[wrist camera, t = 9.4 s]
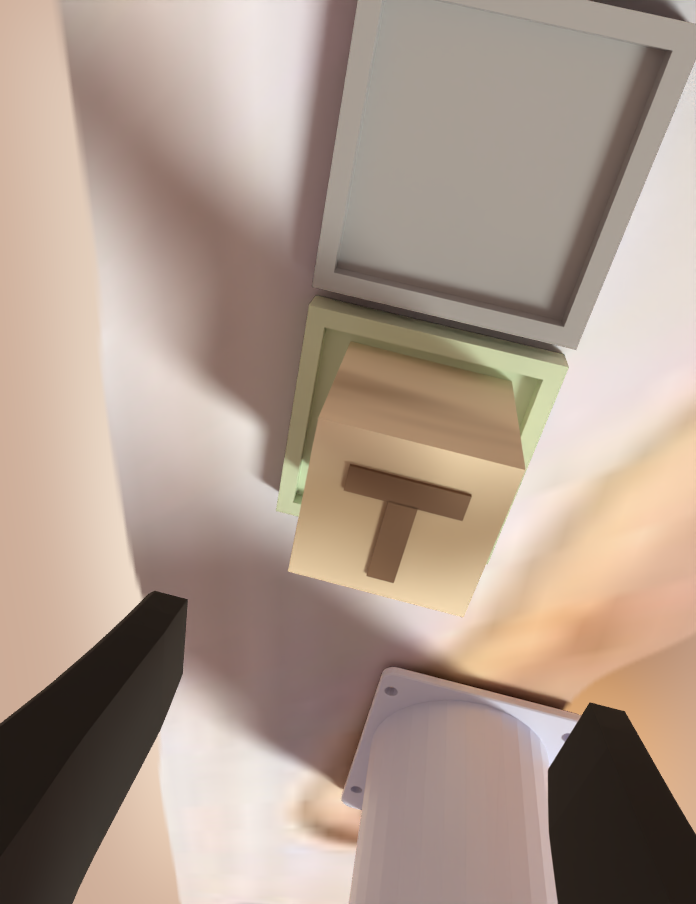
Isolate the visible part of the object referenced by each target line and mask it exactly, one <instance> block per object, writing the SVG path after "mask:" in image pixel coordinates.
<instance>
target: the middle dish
mask: <svg viewBox="0 0 696 904" xmlns="http://www.w3.org/2000/svg"><path fill="white" fill-rule="evenodd" d="M695 60H696V24H694V23H690V22H685V21H681V20H676V19H671V18H667V17H662V16H658V15H653V14H648V13H644V12H639V11H635V10H630V9H626V8H621V7H616V6H612V5H607V4H603V3H598V2H593V1H589V0H358V2H357V8H356V14H355V21H354V27H353V33H352V39H351V46H350V52H349V58H348V64H347V71H346V77H345V83H344V89H343V96H342V102H341V108H340V114H339V121H338V127H337V133H336V139H335V145H334V152H333V158H332V164H331V170H330V177H329V183H328V189H327V195H326V202H325V208H324V214H323V220H322V227H321V233H320V239H319V245H318V252H317V258H316V264H315V270H314V277H313V283H312V287H314V288H318V289H322V290H327V291H331V292H335V293H339V294H343V295H348V296H352V297H356V298H360V299H364V300H369V301H373V302H377V303H381V304H386V305H390V306H394V307H398V308H402V309H407V310H411V311H415V312H419V313H423V314H428V315H432V316H436V317H440V318H444V319H449V320H453V321H457V322H461V323H465V324H470V325H474V326H478V327H482V328H486V329H491V330H495V331H499V332H503V333H507V334H512V335H516V336H520V337H524V338H528V339H533V340H537V341H541V342H545V343H549V344H554V345H558V346H562V347H566V348H570V349H575V350H576V349H577V346H578V344H579V341H580V339H581V337H582V334H583V332H584V329H585V327H586V324H587V322H588V320H589V317H590V315H591V312H592V310H593V307H594V305H595V303H596V300H597V298H598V295H599V293H600V290H601V288H602V286H603V283H604V281H605V278H606V276H607V273H608V271H609V269H610V266H611V264H612V261H613V259H614V257H615V254H616V252H617V249H618V247H619V244H620V242H621V240H622V237H623V235H624V232H625V230H626V227H627V225H628V223H629V220H630V218H631V215H632V213H633V210H634V208H635V206H636V203H637V201H638V198H639V196H640V193H641V191H642V189H643V186H644V184H645V181H646V179H647V176H648V174H649V172H650V169H651V167H652V164H653V162H654V159H655V157H656V155H657V152H658V150H659V147H660V145H661V143H662V140H663V138H664V135H665V133H666V130H667V128H668V126H669V123H670V121H671V118H672V116H673V113H674V111H675V109H676V106H677V104H678V101H679V99H680V96H681V94H682V92H683V89H684V87H685V84H686V82H687V79H688V77H689V75H690V72H691V70H692V67H693V65H694V62H695Z"/></svg>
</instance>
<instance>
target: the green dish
mask: <svg viewBox="0 0 696 904" xmlns="http://www.w3.org/2000/svg"><path fill="white" fill-rule="evenodd" d="M351 341H352V342H356V343H360V344H364V345H368V346H372V347H376V348H380V349H384V350H388V351H392V352H396V353H400V354H404V355H408V356H412V357H416V358H420V359H424V360H428V361H432V362H436V363H440V364H444V365H448V366H452V367H456V368H460V369H464V370H468V371H472V372H476V373H480V374H484V375H488V376H492V377H496V378H500V379H504V380H508V381H512V385H513V391H514V398H515V404H516V411H517V417H518V424H519V430H520V437H521V443H522V450H523V456H524V463H525V469H526V470H527V468H528V465H529V463H530V460H531V458H532V455H533V453H534V451H535V448H536V446H537V443H538V441H539V438H540V436H541V434H542V431H543V429H544V426H545V424H546V421H547V419H548V417H549V414H550V412H551V409H552V407H553V404H554V402H555V400H556V397H557V395H558V392H559V390H560V387H561V385H562V383H563V380H564V378H565V375H566V373H567V371H568V368H569V366H568V364H567V361H566V358H565V355H564V354H561V353H557V352H552V351H548V350H544V349H540V348H536V347H531V346H527V345H523V344H519V343H515V342H510V341H506V340H502V339H498V338H494V337H489V336H485V335H481V334H477V333H473V332H469V331H464V330H460V329H456V328H452V327H448V326H443V325H439V324H435V323H431V322H427V321H422V320H418V319H414V318H410V317H406V316H401V315H397V314H393V313H389V312H385V311H380V310H376V309H372V308H368V307H364V306H359V305H355V304H351V303H347V302H343V301H338V300H334V299H330V298H326V297H322V296H317V295H315V297H314V298H313V300H312V301H311V303H310V304H309V308H308V314H307V320H306V327H305V333H304V339H303V345H302V352H301V358H300V364H299V370H298V376H297V383H296V389H295V395H294V401H293V408H292V414H291V420H290V426H289V433H288V439H287V445H286V451H285V458H284V464H283V470H282V476H281V483H280V489H279V495H278V501H277V508H276V511H278V512H282V513H286V514H290V515H294V516H298V517H299V513H300V508H301V503H302V498H303V492H304V487H305V482H306V477H307V472H308V467H309V462H310V457H311V452H312V447H313V442H314V437H315V432H316V427H317V422H318V417H319V415H320V412H321V410H322V408H323V405H324V403H325V401H326V398H327V396H328V394H329V391H330V389H331V386H332V384H333V382H334V379H335V377H336V375H337V372H338V370H339V368H340V365H341V363H342V360H343V358H344V356H345V353H346V351H347V349H348V346H349V344H350V342H351ZM525 472H526V471H525ZM524 475H525V473H524ZM524 475H523V477H524ZM522 480H523V478H522ZM522 480H521V482H522ZM521 482H520V485H521ZM520 485H519V487H520ZM519 487H518V489H519ZM517 492H518V490H517ZM517 492H516V494H517ZM516 494H515V497H516ZM515 497H514V499H515ZM514 499H513V501H514ZM513 501H512V504H513ZM512 504H511V506H512ZM511 506H510V508H509V511H510V509H511ZM509 511H508V513H507V516H508V514H509ZM507 516H506V518H507ZM506 518H505V520H504V523H505V521H506ZM504 523H503V525H502V527H501V530H500V532H499V534H498V537H497V539H496V541H495V544H494V546H493V549H492V551H491V553H490V556H489V558H488V560H487V563H486V564H488V562H489V560H490V557H491V555H492V552H493V550H494V548H495V545H496V543H497V540H498V538H499V535H500V533H501V531H502V528H503V526H504Z"/></svg>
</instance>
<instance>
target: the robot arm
mask: <svg viewBox="0 0 696 904" xmlns="http://www.w3.org/2000/svg"><path fill="white" fill-rule="evenodd" d="M187 602H188V599H184V598H180V597H176V596H172V595H169V594H165V593H161V592H157V591H154V592H152V593H150V594H148V595H147V596H146V597H145V598H144V599H143V600H142V601H141V602H140V603H139V604H138V605H137V606H136V607H135V608H134V609H133V610H132V611H131V612H130V613H129V614H128V615H127V616H126V617H125V618H124V619H123V620H122V621H121V622H120V623H119V624H117V625H116V627H114V628H113V629H112V630H111V631H110V632H109V633H108V634H107V635H106V636H105V637H103V638H102V639H101V640H100V641H99V642H98V643H97V644H96V645H95V646H94V647H93V648H92V649H91V650H89V651H88V652H87V653H86V654H85V655H83V656H82V657H81V658H80V659H79V660H78V661H76V662H75V663H74V664H73V665H72V666H71V667H70V668H68V669H67V670H66V671H65V672H64V673H63V674H62V675H60V676H59V677H58V678H57V679H56V680H54V681H53V682H52V683H51V684H50V685H49V686H47V687H46V688H45V689H44V690H42V691H41V692H40V693H38V694H37V695H36V696H35V697H33V698H32V699H31V700H30V701H28V702H27V703H26V704H25V705H23V706H22V707H21V708H20V709H18V710H17V711H16V712H14V713H13V714H12V715H11V716H9V717H8V718H7V719H5V720H4V721H3V722H2V723H0V904H72V903H73V901H74V898H75V896H76V894H77V891H78V889H79V887H80V884H81V883H82V880H83V878H84V876H85V874H86V872H87V870H88V868H89V866H90V864H91V862H92V860H93V858H94V856H95V854H96V852H97V850H98V848H99V846H100V844H101V842H102V840H103V838H104V837H105V835H106V833H107V831H108V829H109V827H110V825H111V823H112V821H113V820H114V818H115V816H116V814H117V812H118V810H119V808H120V806H121V804H122V802H123V801H124V799H125V797H126V795H127V793H128V791H129V789H130V787H131V785H132V783H133V781H134V780H135V778H136V776H137V774H138V772H139V770H140V768H141V766H142V764H143V762H144V761H145V758H146V757H147V755H148V753H149V751H150V749H151V747H152V745H153V743H154V741H155V739H156V737H157V735H158V733H159V732H160V730H161V727H162V725H163V722H164V720H165V717H166V715H167V712H168V710H169V707H170V705H171V702H172V700H173V697H174V695H175V692H176V690H177V687H178V685H179V682H180V679H181V677H182V674H183V660H184V646H185V631H186V617H187ZM392 687H393V688H392ZM342 802H343V803H344V804H345V805H347V806H349V807H352V808H356V809H360V810H362V812H361V819H360V826H359V834H358V841H357V848H356V855H355V862H354V869H353V877H352V884H351V891H350V898H349V904H696V834H695V832H694V831H693V829H692V827H691V826H690V824H689V823H688V821H687V819H686V817H685V816H684V814H683V812H682V811H681V809H680V807H679V806H678V804H677V802H676V800H675V799H674V797H673V795H672V793H671V792H670V790H669V788H668V787H667V785H666V783H665V781H664V779H663V778H662V776H661V774H660V772H659V771H658V769H657V767H656V766H655V764H654V762H653V760H652V758H651V757H650V755H649V753H648V751H647V750H646V748H645V746H644V744H643V742H642V741H641V739H640V737H639V735H638V734H637V732H636V730H635V729H634V727H633V725H632V723H631V722H630V720H629V718H628V716H627V715H626V713H625V711H621V710H617V709H613V708H609V707H605V706H601V705H597V704H594V703H589V705H588V706H587V708H586V709H585V711H584V712H583V714H582V716H581V715H578V714H576V713H572V712H568V711H564V710H560V709H557V708H553V707H549V706H545V705H541V704H537V703H533V702H529V701H526V700H522V699H518V698H514V697H510V696H506V695H502V694H499V693H495V692H491V691H487V690H483V689H479V688H475V687H471V686H468V685H464V684H460V683H456V682H452V681H448V680H444V679H440V678H437V677H433V676H429V675H425V674H421V673H417V672H413V671H409V670H406V669H402V668H398V667H389V668H387V669H385V670H384V671H383V672H382V675H381V678H380V681H379V684H378V687H377V690H376V693H375V696H374V699H373V702H372V705H371V708H370V711H369V714H368V717H367V720H366V723H365V726H364V729H363V732H362V735H361V738H360V741H359V744H358V747H357V750H356V753H355V756H354V759H353V762H352V765H351V768H350V771H349V774H348V777H347V780H346V783H345V786H344V789H343V792H342Z"/></svg>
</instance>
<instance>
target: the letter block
mask: <svg viewBox="0 0 696 904" xmlns="http://www.w3.org/2000/svg"><path fill="white" fill-rule="evenodd" d="M525 471H526V469H525V463H524V456H523V450H522V443H521V437H520V430H519V424H518V417H517V411H516V404H515V398H514V391H513V385H512V381H508V380H504V379H500V378H496V377H492V376H488V375H484V374H480V373H476V372H472V371H468V370H464V369H460V368H456V367H452V366H448V365H444V364H440V363H436V362H432V361H428V360H424V359H420V358H416V357H412V356H408V355H404V354H400V353H396V352H392V351H388V350H384V349H380V348H376V347H372V346H368V345H364V344H360V343H356V342H352V341H351V342H350V344H349V346H348V349H347V351H346V353H345V356H344V358H343V360H342V363H341V365H340V368H339V370H338V372H337V375H336V377H335V379H334V382H333V384H332V386H331V389H330V391H329V394H328V396H327V398H326V401H325V403H324V405H323V408H322V410H321V412H320V415H319V417H318V422H317V427H316V432H315V437H314V442H313V447H312V452H311V457H310V462H309V467H308V472H307V477H306V482H305V487H304V492H303V498H302V503H301V508H300V513H299V518H298V523H297V528H296V533H295V538H294V543H293V548H292V553H291V558H290V563H289V568H288V572H292V573H296V574H299V575H303V576H307V577H311V578H315V579H319V580H322V581H326V582H330V583H334V584H338V585H342V586H345V587H349V588H353V589H357V590H361V591H364V592H368V593H372V594H376V595H380V596H384V597H387V598H391V599H395V600H399V601H403V602H407V603H410V604H414V605H418V606H422V607H426V608H429V609H433V610H437V611H441V612H445V613H449V614H452V615H456V616H460V617H464V615H465V612H466V610H467V608H468V605H469V603H470V601H471V598H472V596H473V593H474V591H475V589H476V586H477V584H478V582H479V579H480V577H481V575H482V572H483V570H484V567H485V565H486V563H487V560H488V558H489V556H490V553H491V551H492V549H493V546H494V544H495V541H496V539H497V537H498V534H499V532H500V530H501V527H502V525H503V523H504V520H505V518H506V516H507V513H508V511H509V508H510V506H511V504H512V501H513V499H514V497H515V494H516V492H517V490H518V487H519V485H520V482H521V480H522V478H523V475H524V473H525Z"/></svg>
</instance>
